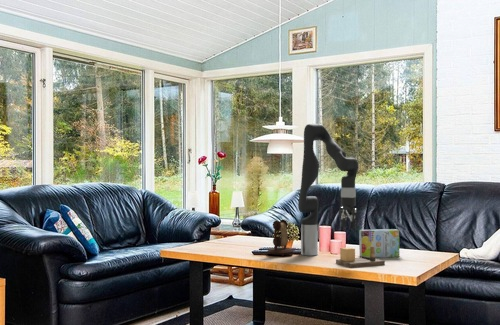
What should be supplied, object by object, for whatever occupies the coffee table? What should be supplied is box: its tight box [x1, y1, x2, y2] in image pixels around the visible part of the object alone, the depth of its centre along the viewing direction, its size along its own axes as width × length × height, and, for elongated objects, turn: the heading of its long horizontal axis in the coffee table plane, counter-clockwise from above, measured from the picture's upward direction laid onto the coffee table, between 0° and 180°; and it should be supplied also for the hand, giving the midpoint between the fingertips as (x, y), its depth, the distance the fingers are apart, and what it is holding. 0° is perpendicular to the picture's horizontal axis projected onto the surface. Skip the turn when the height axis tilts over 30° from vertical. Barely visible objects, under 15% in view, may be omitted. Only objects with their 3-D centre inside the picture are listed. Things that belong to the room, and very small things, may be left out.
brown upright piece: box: [267, 219, 294, 258], centre depth 313 cm, size 15×15×20 cm
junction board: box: [335, 246, 386, 269], centre depth 282 cm, size 14×20×9 cm
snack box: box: [358, 228, 400, 258], centre depth 306 cm, size 21×6×15 cm, turn 92°
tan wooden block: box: [339, 246, 356, 261], centre depth 282 cm, size 5×5×6 cm
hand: (348, 228), depth 282 cm, fingers open, 8 cm apart
